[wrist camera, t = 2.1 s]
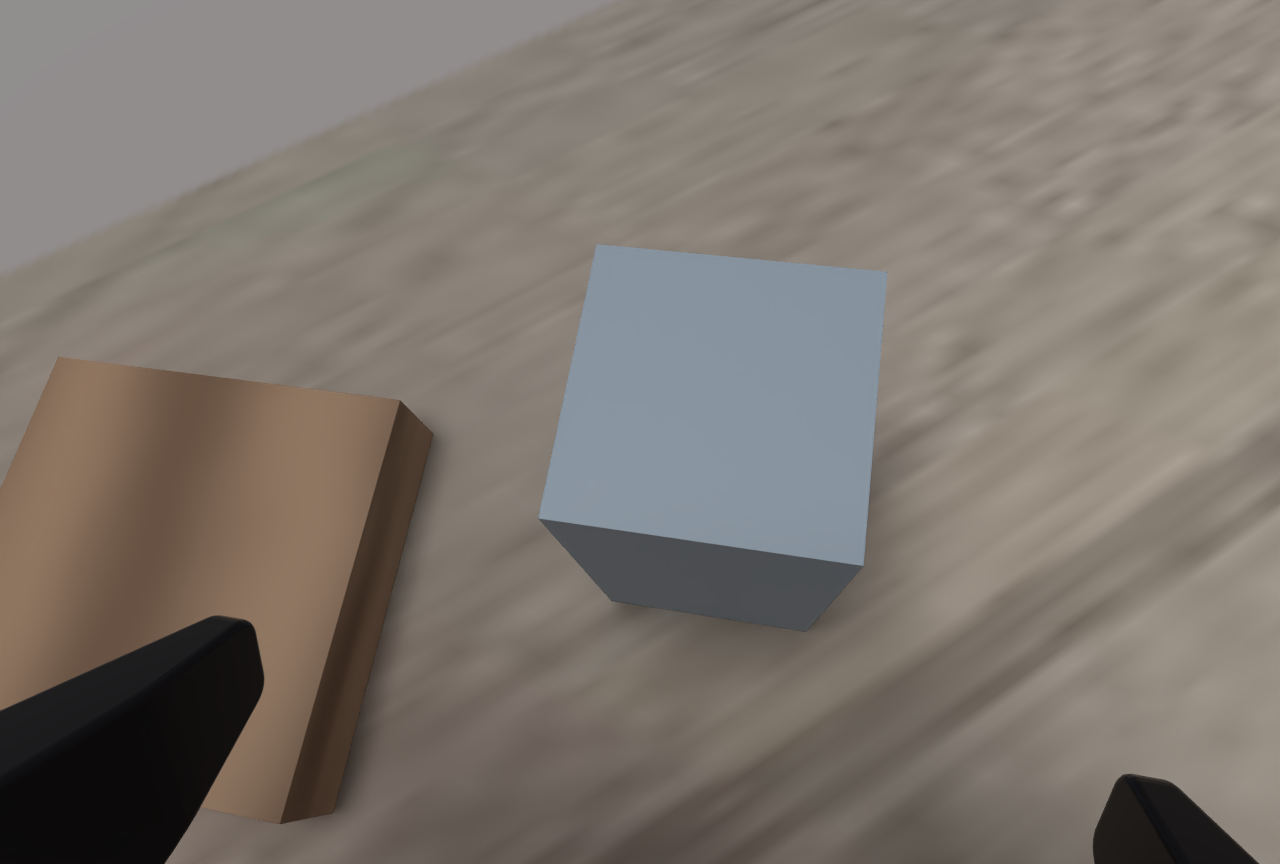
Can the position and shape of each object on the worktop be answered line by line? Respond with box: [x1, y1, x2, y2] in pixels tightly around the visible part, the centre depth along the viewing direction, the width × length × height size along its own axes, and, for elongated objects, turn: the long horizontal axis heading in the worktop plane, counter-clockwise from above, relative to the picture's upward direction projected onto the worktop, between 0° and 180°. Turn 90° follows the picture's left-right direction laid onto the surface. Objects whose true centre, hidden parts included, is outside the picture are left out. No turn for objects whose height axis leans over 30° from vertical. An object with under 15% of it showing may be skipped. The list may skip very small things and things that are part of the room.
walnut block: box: [0, 357, 433, 824], centre depth 22 cm, size 10×10×3 cm
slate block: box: [538, 244, 887, 632], centre depth 18 cm, size 5×5×9 cm
